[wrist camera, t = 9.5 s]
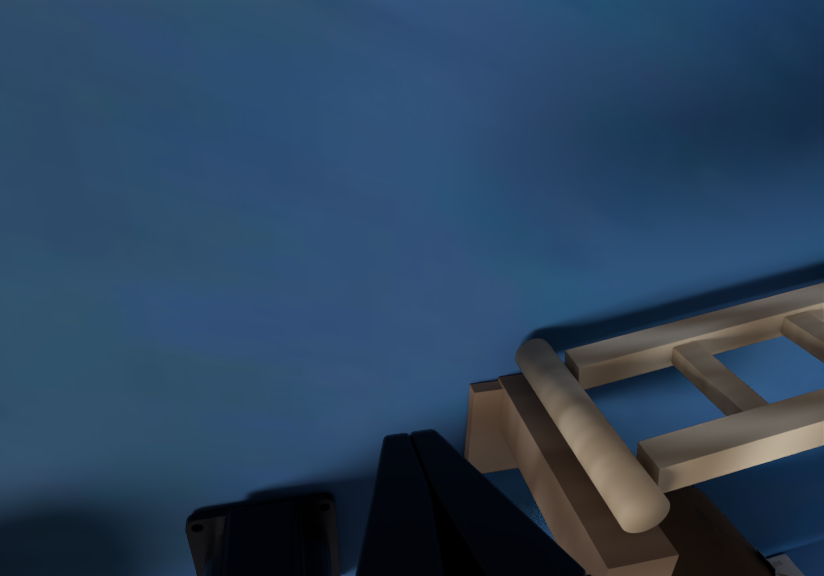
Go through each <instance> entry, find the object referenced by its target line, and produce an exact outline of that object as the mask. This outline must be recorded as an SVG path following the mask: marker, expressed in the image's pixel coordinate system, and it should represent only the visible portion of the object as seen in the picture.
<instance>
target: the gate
mask: <svg viewBox="0 0 824 576" xmlns="http://www.w3.org/2000/svg"><path fill="white" fill-rule="evenodd" d="M780 336H786V337H787V338H788V339H790V340H791V341H793V342H794V343H796V344H797V345H799V346H800V347H801V348H803V349H804V350H806V351H807V352H809V353H810V354H812V355H813V356H814V357H816V358H817V359H819V360H820V361H822V362H823V363H824V283H820V284H816V285H813V286H809V287H805V288H801V289H797V290H794V291H790V292H786V293H782V294H778V295H775V296H771V297H767V298H763V299H759V300H755V301H752V302H748V303H744V304H740V305H736V306H733V307H729V308H725V309H721V310H717V311H714V312H710V313H706V314H702V315H698V316H695V317H691V318H687V319H683V320H679V321H675V322H672V323H668V324H664V325H660V326H656V327H653V328H649V329H645V330H641V331H637V332H634V333H630V334H626V335H622V336H618V337H615V338H611V339H607V340H603V341H599V342H595V343H592V344H588V345H584V346H580V347H576V348H573V349H569V350H565V364H564V363H563V362H562V360H561V359H560V358H559V356H558V355H557V354H556V352H555V351H554V350H553V348H552V347H551V346H550V345H549V343H548V342H547V341H545V340H544V339H540V338H535V339H531V340H528V341H526V342H525V343H523V344H522V345H521V346H520V347H519V349H518V350H517V352H516V356H515V360H516V363H517V365H518V366H519V368H520V369H521V371H522V373H523V374H524V376H525V377H526V379H527V380H528V382H529V384H530V385H531V387H532V388H533V390H534V391H535V393H536V394H537V396H538V398H539V399H540V401H541V402H542V404H543V405H544V407H545V409H546V410H547V412H548V413H549V415H550V416H551V418H552V419H553V421H554V423H555V424H556V426H557V427H558V429H559V430H560V432H561V434H562V435H563V437H564V438H565V440H566V441H567V443H568V444H569V446H570V448H571V449H572V451H573V452H574V454H575V455H576V457H577V458H578V460H579V462H580V463H581V465H582V466H583V468H584V469H585V471H586V473H587V474H588V476H589V477H590V479H591V480H592V482H593V483H594V485H595V487H596V488H597V490H598V491H599V493H600V494H601V496H602V498H603V499H604V501H605V502H606V504H607V505H608V507H609V508H610V510H611V512H612V513H613V515H614V516H615V518H616V519H617V521H618V523H619V524H620V526H621V527H622V529H623V530H624V531H626V532H629V533H640V532H644V531H647V530H649V529H651V528H653V527H655V526H656V525H658V524H659V523H660V522H661V521H662V520H663V519H664V518H665V517H666V515H667V514H668V512H669V509H670V502H669V500H668V499H667V498H666V496H665V495H664V494H663V493H666V492H669V491H672V490H676V489H679V488H682V487H686V486H689V485H692V484H696V483H699V482H702V481H706V480H709V479H712V478H716V477H719V476H722V475H726V474H729V473H732V472H736V471H739V470H742V469H746V468H749V467H752V466H756V465H759V464H762V463H766V462H769V461H772V460H776V459H779V458H782V457H786V456H789V455H792V454H796V453H799V452H802V451H806V450H809V449H812V448H816V447H819V446H822V445H824V389H820V390H817V391H813V392H810V393H806V394H803V395H800V396H796V397H793V398H789V399H786V400H782V401H779V402H775V403H772V404H769V403H768V402H767V401H766V400H764V399H763V398H762V397H761V396H760V395H758V394H757V393H756V392H755V391H754V390H753V389H751V388H750V387H749V386H748V385H747V384H746V383H744V382H743V381H742V380H741V379H740V378H738V377H737V376H736V375H735V374H734V373H733V372H731V371H730V370H729V369H728V368H727V367H726V366H724V365H723V364H722V363H721V362H720V361H718V360H717V359H716V358H715V357H714V356H713V355H714V354H717V353H721V352H725V351H728V350H732V349H736V348H740V347H743V346H747V345H751V344H754V343H758V342H762V341H765V340H769V339H773V338H776V337H780ZM673 365H674V366H675V367H676V368H677V369H678V370H679V371H680V372H681V373H682V374H683V375H684V376H685V377H686V378H687V379H688V380H689V381H691V382H692V383H693V384H694V385H695V386H696V387H697V388H698V389H699V390H700V391H701V392H702V393H703V394H704V395H705V396H706V397H707V398H708V399H709V400H710V401H711V402H712V403H714V404H715V405H716V406H717V407H718V408H719V409H720V410H721V411H722V412H723V413H724V414H725V415H726V417H723V418H719V419H716V420H712V421H709V422H705V423H702V424H698V425H695V426H691V427H688V428H685V429H681V430H678V431H674V432H671V433H667V434H664V435H660V436H657V437H653V438H650V439H646V440H643V441H639V442H638V448H637V458H636V457H635V456H634V455H633V453H632V452H631V451H630V449H629V448H628V447H627V445H626V444H625V443H624V441H623V440H622V439H621V438H620V436H619V435H618V434H617V432H616V431H615V430H614V428H613V427H612V426H611V424H610V423H609V422H608V420H607V419H606V418H605V417H604V415H603V414H602V413H601V411H600V410H599V409H598V407H597V406H596V405H595V403H594V402H593V401H592V400H591V398H590V397H589V396H588V394H587V393H586V392H585V389H589V388H593V387H596V386H600V385H604V384H607V383H611V382H615V381H618V380H622V379H626V378H629V377H633V376H637V375H640V374H644V373H648V372H651V371H655V370H659V369H662V368H666V367H670V366H673Z"/></svg>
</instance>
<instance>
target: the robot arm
mask: <svg viewBox="0 0 824 576" xmlns="http://www.w3.org/2000/svg"><path fill="white" fill-rule="evenodd" d="M196 524H200V525H196ZM185 530H186V534H187V538H188V542H189V546H190V550H191V553H192V557H193V561H194V565H195V569H196V573H197V576H340V564H339V550H338V536H337V521H336V507H335V499H334V496H333V495H332V494H330V493H319V494H313V495H307V496H300V497H294V498H288V499H281V500H275V501H269V502H262V503H256V504H250V505H243V506H237V507H231V508H224V509H218V510H212V511H205V512H199V513H195V514H192V515H190V516H189V517H188V518H187V521H186V529H185ZM356 576H592V575H591V574H587V575H586V570H585V569H584V568H583V567H582V566H581V565H580V564H579V563H577V562H576V561H575V560H574V559H573V558H572V557H571V556H570V555H569V554H568V553H567V552H566V551H565V550H563V549H562V548H561V547H560V546H559V545H558V544H557V543H556V542H555V541H554V540H553V539H552V538H551V537H550V536H548V535H547V534H546V533H545V532H544V531H543V530H542V529H541V528H540V527H539V526H538V525H537V524H536V523H534V522H533V521H532V520H531V519H530V518H529V517H528V516H527V515H526V514H525V513H524V512H523V511H522V510H520V509H519V508H518V507H517V506H516V505H515V504H514V503H513V502H512V501H511V500H510V499H509V498H508V497H507V496H505V495H504V494H503V493H502V492H501V491H500V490H499V489H498V488H497V487H496V486H495V485H494V484H493V483H491V482H490V481H489V480H488V479H487V478H486V477H485V476H484V475H483V474H482V473H481V472H480V471H479V470H477V469H476V468H475V467H474V466H473V465H472V464H471V463H470V462H469V461H468V460H467V459H466V458H465V457H464V456H462V455H461V454H460V453H459V452H458V451H457V450H456V449H455V448H454V447H453V446H452V445H451V444H450V443H448V442H447V441H446V440H445V439H444V438H443V437H442V436H441V435H440V434H439V433H438V432H437V431H435V430H433V429H428V430H421V431H414V432H412V433H411V434H410V435H408V434H407V433H400V434H393V435H387V436H385V437H384V439H383V444H382V448H381V453H380V458H379V463H378V468H377V473H376V478H375V483H374V488H373V493H372V497H371V502H370V507H369V512H368V517H367V522H366V527H365V532H364V537H363V541H362V546H361V551H360V556H359V561H358V566H357V571H356Z"/></svg>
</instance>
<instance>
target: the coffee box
mask: <svg viewBox="0 0 824 576" xmlns="http://www.w3.org/2000/svg"><path fill="white" fill-rule="evenodd" d="M767 560H768V561H769V562H770V563H771V564H772V565H773V566H774V568H775V570H776V572H777V574H778V575H779V576H804V574H803V573H802V572H801V571H800V570H799V569H798V568H797V566H796V565H795V564H794V563H793V562H792V561H791V559H790V558H789V557H788V556H787V555H786V554H782V555H778V556H775V557H771V558H768V559H767Z"/></svg>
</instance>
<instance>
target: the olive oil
mask: <svg viewBox="0 0 824 576" xmlns="http://www.w3.org/2000/svg"><path fill="white" fill-rule="evenodd" d="M663 494H664V495H665V496H666V498H667V499H668V500H669V502H670V509H669V512H668V514H667V515H666V517H665V518H664V519H663V520H662V521H661V522H660V523H659V524H658V526H659V527H660V529H661V530H662V531H663V533H664V534H665V536H666V537H667V538H668V540H669V541H670V543H671V544H672V546H673V547H674V548H675V550H676V551H677V553H678V554H679V556H678V559H677V562H676V564H675V567H674V570H673V573H672V575H671V576H779V575H778V574H777V572H776V570H775V568H774V566H773V565H772V564H771V563H770V562H769V561H768V560H767V559H766V558H765V556H764V555H763V554H762V553H761V552H760V551H759V550H757V551H756V550H755V549H754V548H753V547H752V546H751V544H750V543H749V542H748V541H747V540H746V539H745V538H744V537H743V535H742V534H741V533H740V532H739V531H738V530H737V529H736V528H735V526H734V525H733V524H732V523H731V522H730V521H729V520H728V519H727V517H726V516H725V515H724V514H723V513H722V512H721V511H720V510H719V509H718V507H717V506H716V505H715V504H714V503H713V502H712V501H711V500H710V499H709V498H708V497H707V496H706V495H705V494H704V493H703V492H701V491H700V490H698V489H696V488H694V487H691V486H686V487H682V488H679V489H676V490H672V491H669V492H666V493H663ZM754 546H755V545H754ZM755 547H756V546H755ZM756 549H758V548H757V547H756ZM759 554H760V555H759Z"/></svg>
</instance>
